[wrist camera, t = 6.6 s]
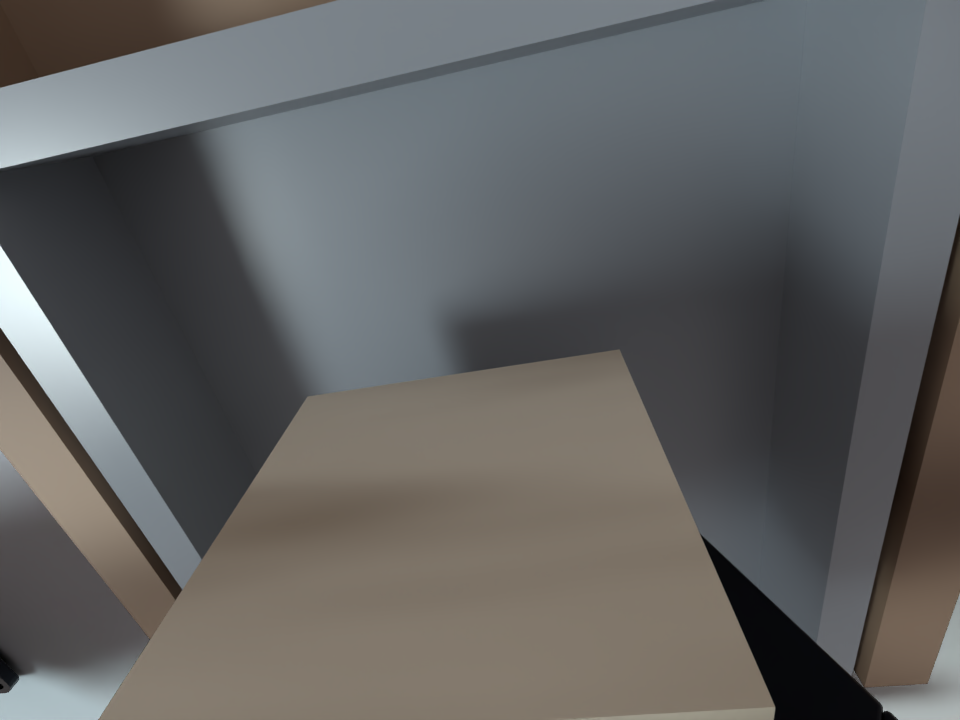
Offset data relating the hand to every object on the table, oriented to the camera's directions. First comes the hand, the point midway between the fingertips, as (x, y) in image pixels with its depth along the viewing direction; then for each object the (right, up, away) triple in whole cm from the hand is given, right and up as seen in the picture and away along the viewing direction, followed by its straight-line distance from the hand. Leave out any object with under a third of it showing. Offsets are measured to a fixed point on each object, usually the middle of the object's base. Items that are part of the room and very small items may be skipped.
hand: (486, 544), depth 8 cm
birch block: (0, +1, +1) cm, 1 cm away
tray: (+1, -1, +6) cm, 6 cm away
